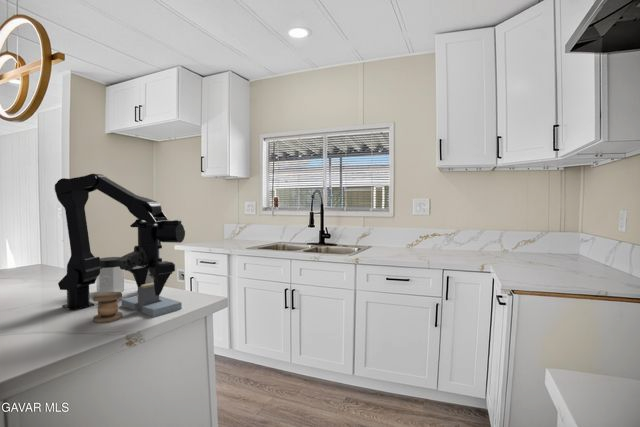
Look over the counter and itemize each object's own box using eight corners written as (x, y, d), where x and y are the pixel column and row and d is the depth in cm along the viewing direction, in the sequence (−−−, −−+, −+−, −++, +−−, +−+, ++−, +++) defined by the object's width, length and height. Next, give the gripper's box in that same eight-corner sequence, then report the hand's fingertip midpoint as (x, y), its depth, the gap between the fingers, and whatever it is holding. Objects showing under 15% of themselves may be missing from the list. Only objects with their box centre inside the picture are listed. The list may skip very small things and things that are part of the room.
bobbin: (88, 319, 95) (88, 295, 95) (115, 312, 101) (114, 290, 101) (100, 324, 91) (100, 300, 91) (127, 317, 97) (127, 294, 97)
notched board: (121, 305, 108) (121, 299, 108) (149, 298, 115) (149, 292, 115) (153, 316, 98) (153, 309, 98) (181, 308, 105) (181, 302, 105)
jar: (91, 295, 119) (91, 261, 118) (101, 289, 127) (100, 257, 126) (120, 294, 121) (119, 260, 120) (127, 288, 129) (127, 256, 128)
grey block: (137, 310, 104) (137, 285, 103) (153, 305, 108) (153, 282, 108) (143, 312, 102) (143, 286, 102) (159, 307, 106) (158, 283, 106)
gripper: (105, 242, 103) (106, 294, 103) (138, 247, 92) (139, 304, 93) (141, 239, 112) (142, 286, 112) (176, 243, 101) (176, 295, 102)
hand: (149, 292), depth 105 cm, fingers open, 9 cm apart
